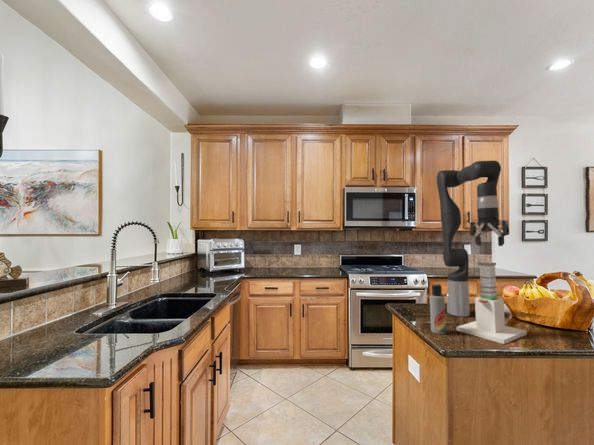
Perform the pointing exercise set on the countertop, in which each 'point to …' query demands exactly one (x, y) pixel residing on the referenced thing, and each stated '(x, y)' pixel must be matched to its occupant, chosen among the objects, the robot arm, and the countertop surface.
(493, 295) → the post
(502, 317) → the stand
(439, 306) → the lotion bottle
